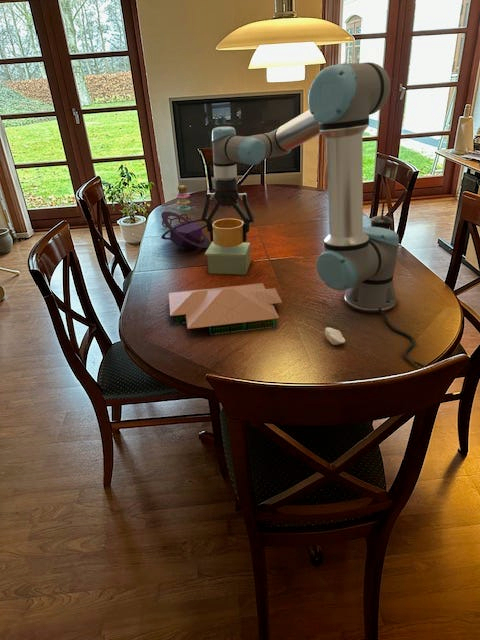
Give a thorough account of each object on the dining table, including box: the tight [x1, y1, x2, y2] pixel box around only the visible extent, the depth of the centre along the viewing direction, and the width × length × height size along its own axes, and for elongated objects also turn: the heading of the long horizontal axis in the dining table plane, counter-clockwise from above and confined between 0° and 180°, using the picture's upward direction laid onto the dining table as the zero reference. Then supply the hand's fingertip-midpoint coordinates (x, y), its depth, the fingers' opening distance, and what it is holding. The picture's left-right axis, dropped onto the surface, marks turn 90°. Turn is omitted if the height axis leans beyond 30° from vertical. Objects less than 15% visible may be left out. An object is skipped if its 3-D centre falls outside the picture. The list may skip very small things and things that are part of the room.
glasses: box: [161, 213, 199, 228], centre depth 201 cm, size 13×13×5 cm
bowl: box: [212, 218, 244, 247], centre depth 157 cm, size 11×11×7 cm
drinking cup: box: [370, 201, 393, 230], centre depth 164 cm, size 8×8×20 cm
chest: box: [206, 245, 252, 276], centre depth 162 cm, size 14×12×7 cm
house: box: [168, 282, 283, 335], centre depth 132 cm, size 23×33×8 cm
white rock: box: [324, 326, 346, 346], centre depth 118 cm, size 7×5×4 cm
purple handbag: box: [160, 184, 213, 252], centre depth 175 cm, size 22×21×25 cm
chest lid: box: [204, 241, 251, 257], centre depth 160 cm, size 14×12×1 cm
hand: (228, 240), depth 158 cm, fingers closed on bowl, 11 cm apart
